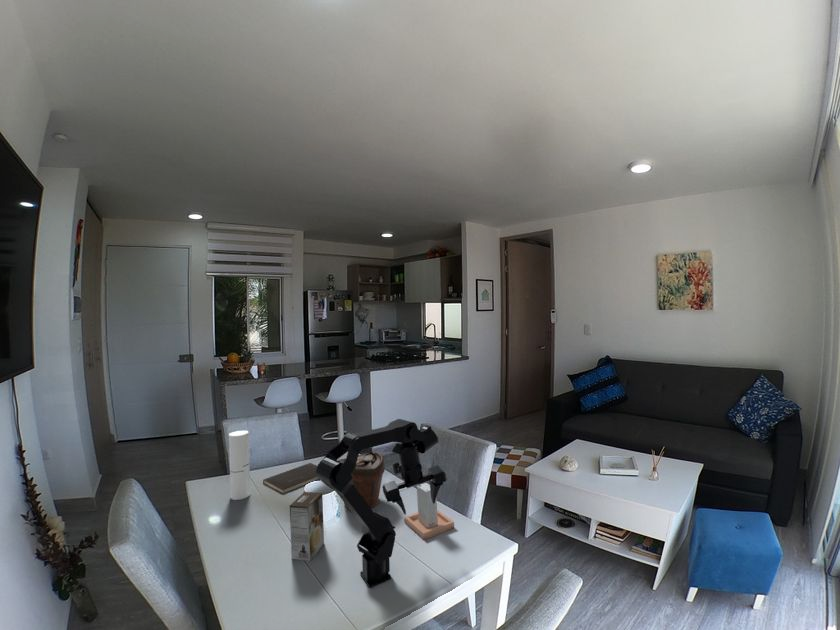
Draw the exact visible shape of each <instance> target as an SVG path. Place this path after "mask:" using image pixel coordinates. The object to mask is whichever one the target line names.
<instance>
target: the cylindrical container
mask: <svg viewBox="0 0 840 630" xmlns="http://www.w3.org/2000/svg"><path fill="white" fill-rule="evenodd" d="M249 434H250V433H249V430H236V431H232V432H230V433H229V434H228V449H229V451H228V452H229V454H228V455H229V483H230V484H229V485H230V499H231V500H233V501H239V500H243V499H246V498H248V497H249V496H250V495H251V472H250V471H251V470H250V467H251V466H250V464H251V463H250V435H249Z"/></svg>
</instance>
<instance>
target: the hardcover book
mask: <svg viewBox="0 0 840 630" xmlns="http://www.w3.org/2000/svg"><path fill="white" fill-rule="evenodd" d="M317 466H318V464H317V465H316V464H314V463H312V462H309V463H306V464H303V465H300V466H298V467H295V468H292V469H288V470H286V471H283V472H281V473H277V474H275V475H273V476H269V477H267V478H264V479H263V480H262V484H265V485H267V486H268V487H271V488H272V489H273V490H276V491H278V492H280V493H282V494H285V493H287V492H289V491H293V490H295V489H298V488H300V487H302V486H304V485H307V484H309V482H310V483H312V482H314V481H317V480H319V479H318V478H317V476H316V469H317Z"/></svg>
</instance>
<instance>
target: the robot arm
mask: <svg viewBox="0 0 840 630" xmlns="http://www.w3.org/2000/svg"><path fill="white" fill-rule="evenodd" d="M390 443H395V446H394V447H393V448H392V450H391V452H392V453H394V454H397V455H399V460H400V463H399V462H398V461H397V462H394V463H392V469H393V473H394V475H398V474H400V475H401V478H402V480H404V481H403V482H401V483H398V484H397V483H396V481H395V480H392V481H388V482H385V483H384V484H383V485H382V492H383V495H384V497H385V499H386V502H387V503H389V502H392V503H393V504H394V503H396V504H397V505H398V506H399V508H400V509H401V511H402V512H403V514H404V515H407V511H406V508H405V504H404V500H403V498H402V496H401V493H400V492H402V491H405V490H407V489H410V488H413V487H417V486H418V485H421V484H424V483H427V482H429V483H428V484H429V485H430V491H431V499H432V503H433V504H434V503H435V500H436V497H437V496H438V493H439V490H440V488H441V486H443V485H444V483H445V482H447V480H448V479H447V475H446V472H445V471H444V469H443V468H442V467H441V466H440V465H438V464H437V465H434V466H431V467H429V468H427V473H426V474H423V466H422V463H421V458H420V454H425V453H427V452H428V451H429V450H431V449H433V448H434V447H436V446H437V445H438V443H439V438H438V436H437V434H436V432H435V431H434V430H433V429H432V426H431V425H427V424H426V425H424V426H423V427H422V428H421V429H419V428H418V425H417V423H416V422H415V421H409V420H406V419H402V418H397V419H395V420H393V421H390V422H389V423H388V424H387V425H386V426H383V427H378V428H374V429H370V430H364V431H361V432H356V433H347V434H345V435H344V436H343V437H342V439H341V440H340V442H339V443H337V444H336V445H335V446H333V447H332V448H331V449H329V450H328V452H327V453H326V454H325V456H324V457H323V458H322V459H321V460H320V461H319V462H318V464H317V469H316V476H317V478H318V479H317V480H319V481H320V482H321V483H323V484H324V485H326V486H327V487H328V488H330V489H331V490H332V491H334V492H335V493H336V494H337V495H338V496H339V497H340V499H341V500H342V501H343V504H344V503H345V504H346V505H347V507H348V508H349V510H350V512H351V513H352V514H353V515H354V517H355V518H356V519H357V521H358V522H359V523H360V525H361V531H362V536H361V537H360V539H359V541H358V543H357V544H356V548H357V549H358V552H359V553H362V556H361V557H362V558H361V559H362V560H361V563H362V570H361V571H360V572H359V574H360V577H361V578H362V579H363V580H364V582H365V583H366V585H367V586H368V587H369V588H373V587H375V586H377V585H379V584H382V583H384V582H386V581H389V580H390V579H392V575H391V574H390V563H391V562H390V558H391V557H392V555H393V552H394V551H393V550H394V546H395V542H396V535H397V534H396V531H395V529H396V526H395V525H393V524H392V522H391V520H390V518H388V517H387V516H385V515H383V514H381V513H379V512H377V511H376V510H375V511H374V510H373V508H370V506H369V505H368V503H367V502H366V501H365V499H364V498H363V497H362V495H361V494H360V493H359V491H358V490H357V489H356V487H355V486H354V484H353V476H352V474H351V473H352V471H353V470H354V468H355V467H356V463H357V459H358V456H359V455H360V453H361V452H362V451H363V450H368V449H370V448H371V449H372V448H374V447H378V446H383V445H386V444H390ZM346 453H347V455H346ZM344 455H346V458H345V459H346V460H345V461H344V462H343V463H342V462H339V461H338V460H340V459H341V457H343V456H344ZM437 498H438V497H437ZM348 508H347V509H348Z"/></svg>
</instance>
